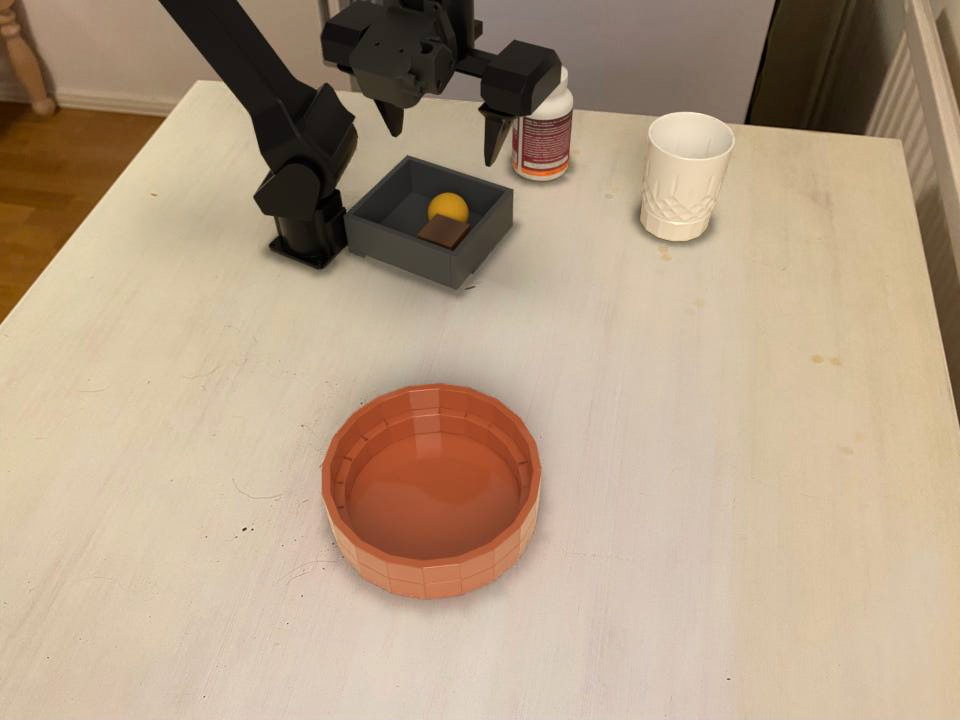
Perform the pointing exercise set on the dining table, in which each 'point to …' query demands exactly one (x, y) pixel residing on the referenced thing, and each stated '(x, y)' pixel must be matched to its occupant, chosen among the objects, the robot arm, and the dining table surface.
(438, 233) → the toy block
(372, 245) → the bin
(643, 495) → the dining table surface
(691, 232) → the white cup
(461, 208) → the toy ball
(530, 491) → the bowl
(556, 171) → the pill bottle
